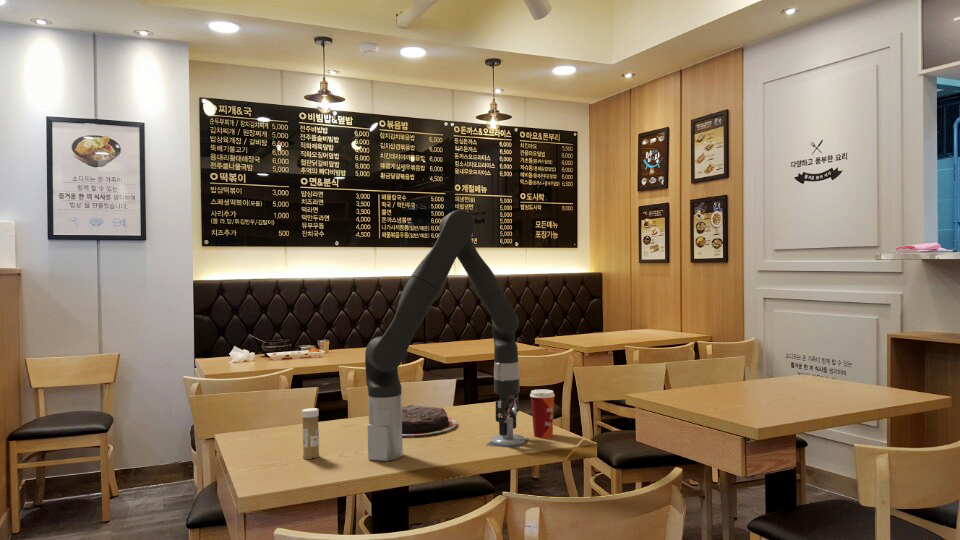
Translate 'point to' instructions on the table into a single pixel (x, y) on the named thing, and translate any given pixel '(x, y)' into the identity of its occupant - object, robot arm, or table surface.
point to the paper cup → (542, 412)
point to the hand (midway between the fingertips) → (508, 431)
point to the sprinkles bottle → (310, 433)
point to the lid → (508, 437)
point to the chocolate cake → (425, 421)
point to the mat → (507, 446)
